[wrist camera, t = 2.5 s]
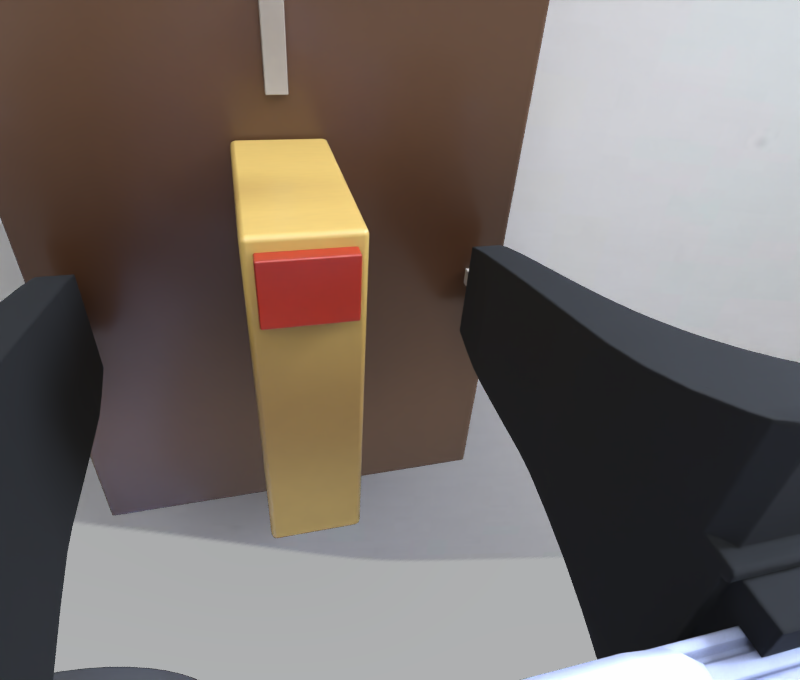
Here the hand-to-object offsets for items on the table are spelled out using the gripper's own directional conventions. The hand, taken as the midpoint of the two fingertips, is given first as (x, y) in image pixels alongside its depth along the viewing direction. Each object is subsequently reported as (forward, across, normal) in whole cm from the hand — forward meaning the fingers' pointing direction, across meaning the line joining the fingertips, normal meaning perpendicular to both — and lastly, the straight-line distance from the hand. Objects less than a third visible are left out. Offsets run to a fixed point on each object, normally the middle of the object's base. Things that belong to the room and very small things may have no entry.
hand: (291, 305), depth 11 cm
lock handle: (+1, 0, 0) cm, 1 cm away
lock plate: (+4, 0, 0) cm, 4 cm away
